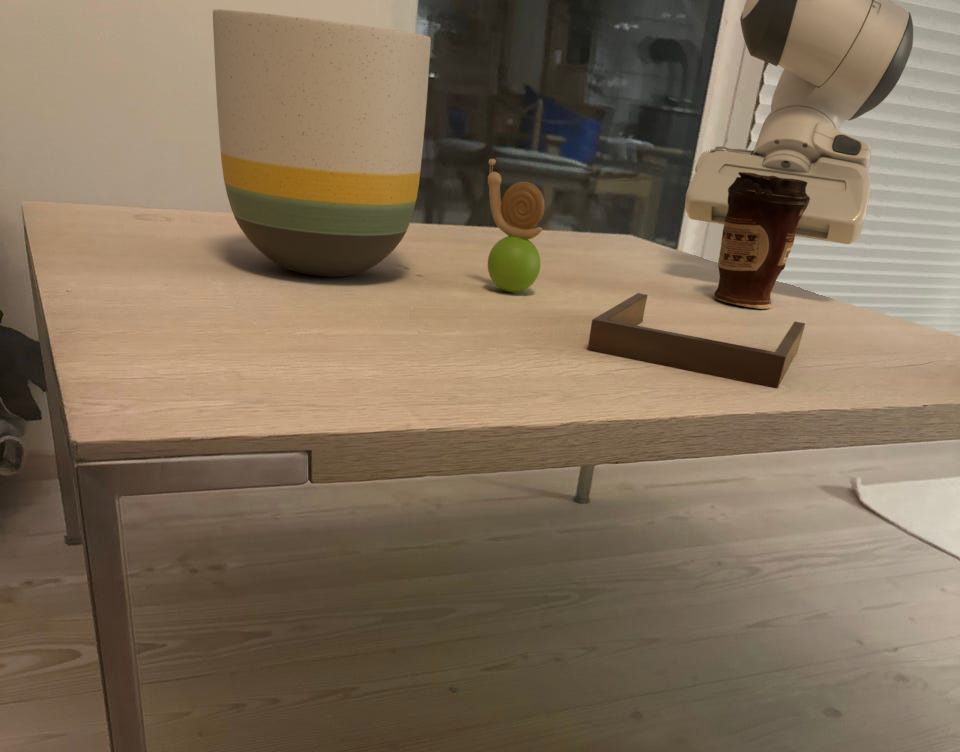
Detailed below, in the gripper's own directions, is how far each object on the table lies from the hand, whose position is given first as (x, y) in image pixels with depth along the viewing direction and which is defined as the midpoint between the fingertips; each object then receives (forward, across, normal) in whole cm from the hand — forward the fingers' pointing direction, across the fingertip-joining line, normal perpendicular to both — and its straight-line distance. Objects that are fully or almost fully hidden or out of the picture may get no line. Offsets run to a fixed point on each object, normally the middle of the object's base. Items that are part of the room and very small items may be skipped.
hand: (757, 256), depth 105 cm
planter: (+24, -39, -17) cm, 49 cm away
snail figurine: (+18, -22, -12) cm, 31 cm away
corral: (+25, 0, -19) cm, 31 cm away
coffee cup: (+6, 0, 0) cm, 6 cm away
